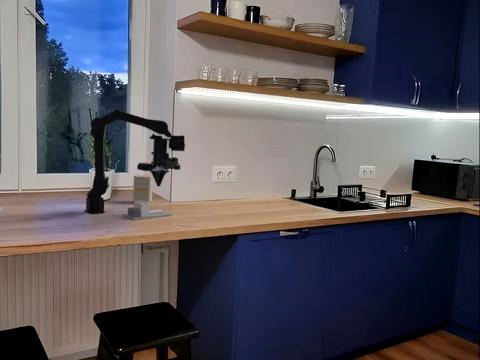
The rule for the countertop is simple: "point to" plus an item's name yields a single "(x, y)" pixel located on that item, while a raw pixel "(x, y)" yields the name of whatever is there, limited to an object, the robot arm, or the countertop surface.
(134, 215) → the rail board
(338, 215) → the countertop surface
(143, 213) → the module
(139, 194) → the supplement box
